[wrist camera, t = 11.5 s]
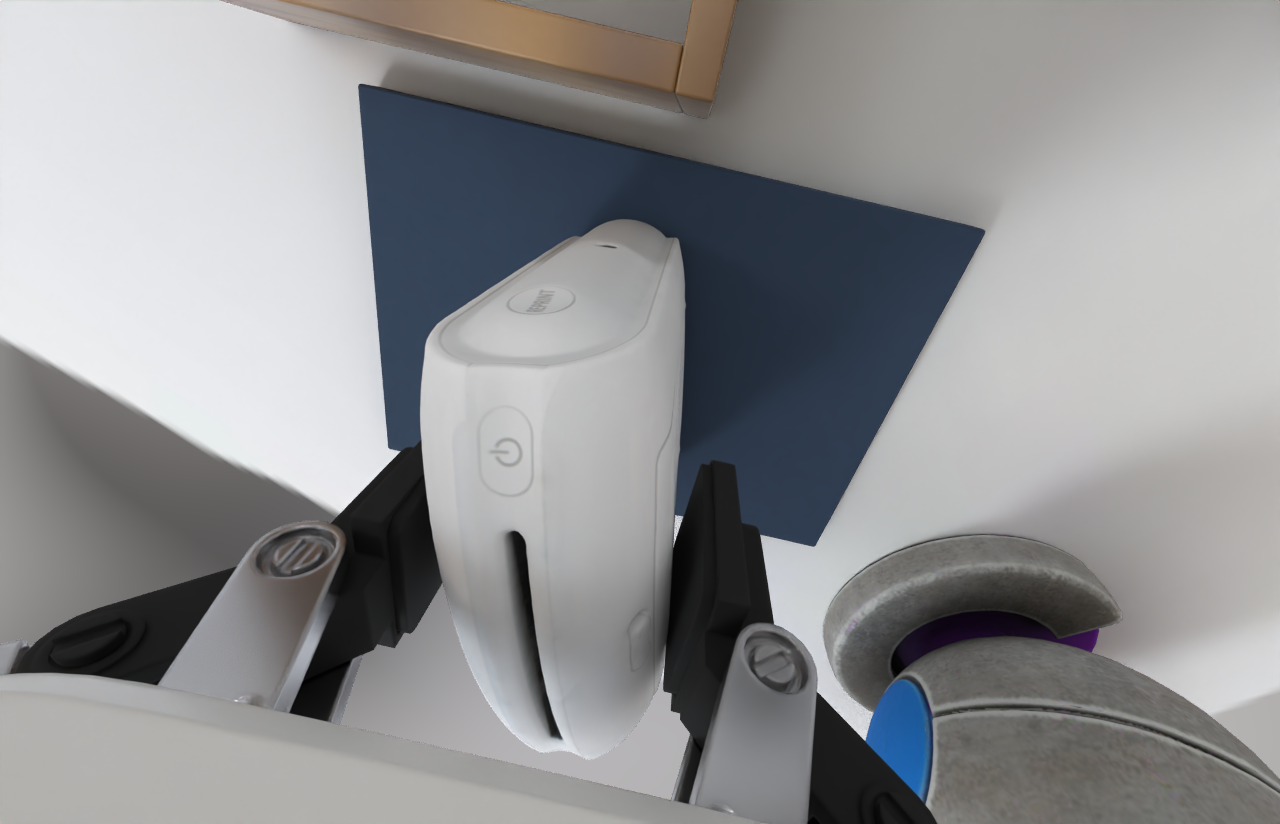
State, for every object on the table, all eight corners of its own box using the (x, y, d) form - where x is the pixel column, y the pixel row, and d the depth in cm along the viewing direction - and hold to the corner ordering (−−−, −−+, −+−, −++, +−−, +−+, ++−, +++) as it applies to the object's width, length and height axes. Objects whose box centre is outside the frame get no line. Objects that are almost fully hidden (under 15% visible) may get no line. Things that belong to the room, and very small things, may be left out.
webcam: (1005, 718, 28) (1277, 1227, 15) (789, 674, 28) (867, 1137, 15) (1163, 564, 21) (1901, 1231, 8) (879, 508, 21) (1158, 1071, 8)
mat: (399, 437, 22) (387, 449, 22) (375, 86, 15) (356, 83, 15) (810, 532, 22) (815, 547, 22) (971, 225, 16) (987, 230, 15)
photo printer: (561, 214, 16) (269, 358, 5) (690, 214, 15) (673, 373, 5) (582, 466, 21) (458, 807, 10) (680, 471, 20) (660, 833, 10)
